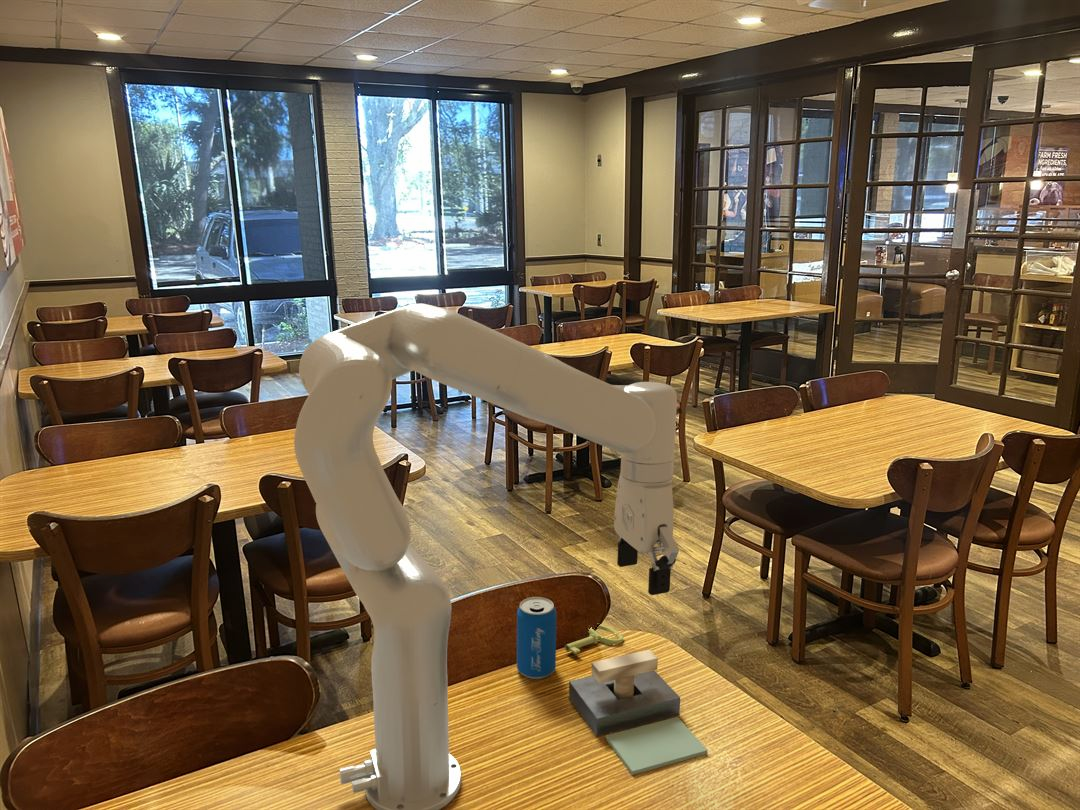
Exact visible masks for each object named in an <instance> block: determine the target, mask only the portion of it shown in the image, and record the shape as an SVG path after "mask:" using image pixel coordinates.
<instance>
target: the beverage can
mask: <svg viewBox="0 0 1080 810" xmlns="http://www.w3.org/2000/svg"><path fill="white" fill-rule="evenodd" d="M556 653H557V610H556V608H555V606H554V602H553V601H552V600H551V599H549V598H546V597H541V596H531V597H527V598H525V599H523V600H522V601H520V603H519V607H518V608H517V611H516V669H517V670H518V672H519V674H521V675H523V676H524V677H526V678H529V679H532V680H542V679H545V678H546V677H549V676H550V675H551V674H552V673H554V672H555V670H556V666H557V665H556V663H557V662H556V661H557V659H556V658H557V655H556Z"/></svg>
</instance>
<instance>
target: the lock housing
mask: <svg viewBox="0 0 1080 810" xmlns="http://www.w3.org/2000/svg"><path fill="white" fill-rule="evenodd" d="M568 699H569V700H570V701H571V703H572V704H573V706H574V707H575V709H576V710H577V712H579V715H580V716H581V717H582V718H583V720H584V721H585V722H586V724H587V726H588V727H589V728H590V730H591V731H592V732H593V734H594V735H595V736H596V737H601V736H606V735H610V734H613V733H617V732H621V731H625V730H629V729H633V728H636V727H640V726H644V725H645V724H646V725H648V724H649V723H650V724H652V723H656V722H659V721H663V720H667V719H671V718H675V717H678V716H680V713H681V712H680V708H681V697H680V696H679V695H678V693H677V692H675V690H674V689H673V688H672V687H671V686H670V685H669V684H668V683H667V682H666V681H665V680H664V679H663V678H662V677H661V675H660V674H658V673H657V671H656V670H654V671H650V672H646V673H642V674H637V675H634V694H633V696H632V697H628V698H624V699H620V700H618V699H617V698H616V697H615V696H614V680H612V681H607V682H603V683H598V682H597V681H596V679H595V678H594V677H593V676H592V675H590V676H587V677H581V678H576V679H573V680H568Z"/></svg>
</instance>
